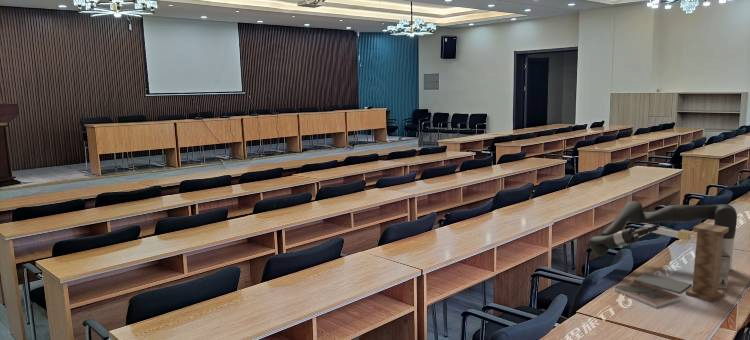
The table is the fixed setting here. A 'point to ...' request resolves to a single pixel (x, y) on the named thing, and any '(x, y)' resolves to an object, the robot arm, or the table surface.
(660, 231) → the steel bar
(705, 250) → the walnut stand
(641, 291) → the picture frame
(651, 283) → the rubber mat
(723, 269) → the coffee box
